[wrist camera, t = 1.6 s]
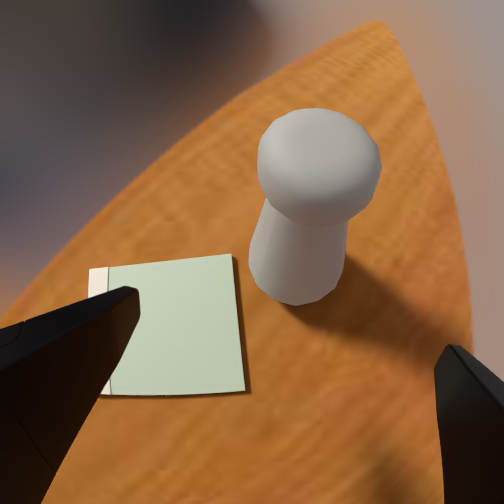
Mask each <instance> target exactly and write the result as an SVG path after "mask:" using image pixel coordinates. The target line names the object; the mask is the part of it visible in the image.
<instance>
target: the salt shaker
mask: <svg viewBox="0 0 504 504" xmlns="http://www.w3.org/2000/svg"><path fill="white" fill-rule="evenodd" d="M381 168H382V166H381V160H380V155H379V150H378V146H377V144H376V143H375V142H374V140H373V139H372V138H371V137H370V135H369V134H368V133H367V132H366V130H365V129H364V128H363V127H362V126H361V125H359V124H358V123H356V122H355V121H353V120H351V119H350V118H348V117H347V116H345V115H343V114H342V113H339V112H335V111H331V110H326V109H322V108H312V109H300V110H294V111H292V112H290V113H288V114H286V115H284V116H282V117H280V118H278V119H276V120H275V121H273V122H272V124H271V125H270V126H269V128H268V129H267V130H266V132H265V133H264V134H263V136H262V137H261V140H260V144H259V148H258V167H257V173H258V181H259V184H260V186H261V187H262V189H263V191H264V193H265V195H266V200H265V202H264V205H263V208H262V211H261V214H260V217H259V220H258V223H257V226H256V229H255V232H254V235H253V237H252V240H251V243H250V250H249V268H250V270H251V273H252V275H253V277H254V279H255V282H256V284H257V286H258V287H259V288H260V289H261V290H262V291H264V292H265V293H266V294H267V295H268V296H270V297H271V298H272V299H273V300H275V301H278V302H282V303H286V304H290V305H293V306H298V305H303V304H307V303H312V302H316V301H319V300H320V299H321V298H323V297H324V296H325V295H327V294H328V293H329V292H331V291H332V290H333V289H335V288H336V285H337V283H338V281H339V278H340V276H341V274H342V271H343V268H344V259H345V249H346V238H347V226H348V220H349V219H351V218H352V217H354V216H355V215H356V214H358V213H359V212H360V211H362V210H363V209H365V208H366V206H367V205H368V204H369V202H370V201H371V200H372V197H373V194H374V192H375V189H376V186H377V183H378V181H379V177H380V173H381Z"/></svg>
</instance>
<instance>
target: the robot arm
mask: <svg viewBox="0 0 504 504" xmlns="http://www.w3.org/2000/svg"><path fill="white" fill-rule="evenodd" d="M140 315H141V310H140V297H139V291H138V289H137V288H134V287H130V286H122V287H119V288H116V289H113V290H110V291H107V292H104V293H102V294H99V295H96V296H93V297H90V298H87V299H84V300H82V301H79V302H76V303H73V304H70V305H67V306H65V307H62V308H59V309H56V310H53V311H50V312H48V313H45V314H42V315H39V316H36V317H34V318H31V319H28V320H25V322H24V321H22V322H19V323H17V324H14V325H11V326H8V327H5V328H2V329H0V504H41V502H42V500H43V498H44V496H45V494H46V492H47V491H48V489H49V487H50V485H51V483H52V481H53V479H54V477H55V475H56V472H57V471H58V469H59V467H60V465H61V463H62V461H63V460H64V458H65V456H66V454H67V452H68V450H69V448H70V447H71V445H72V443H73V441H74V439H75V438H76V436H77V434H78V432H79V430H80V429H81V427H82V425H83V423H84V421H85V420H86V418H87V416H88V414H89V413H90V411H91V409H92V407H93V406H94V404H95V402H96V401H97V399H98V397H99V395H100V394H101V392H102V390H103V389H104V387H105V385H106V384H107V382H108V380H109V379H110V377H111V375H112V374H113V372H114V370H115V369H116V367H117V365H118V363H119V362H120V360H121V358H122V356H123V354H124V352H125V349H126V347H127V345H128V343H129V341H130V339H131V336H132V334H133V332H134V330H135V328H136V326H137V324H138V322H139V319H140ZM434 379H435V393H436V411H437V422H438V429H439V437H440V446H441V456H442V468H443V482H444V504H504V382H503V381H502V380H501V379H500V378H498V377H497V376H496V375H495V374H494V373H493V372H491V371H490V370H489V369H488V368H487V367H486V366H484V365H483V364H482V363H481V362H480V361H478V360H477V359H476V358H475V357H474V356H472V355H471V354H470V353H469V352H468V351H466V350H465V349H464V348H463V347H461V346H460V345H453V344H449V345H447V346H446V347H445V349H444V351H443V352H442V354H441V356H440V358H439V360H438V361H437V363H436V365H435V368H434Z"/></svg>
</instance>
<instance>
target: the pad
mask: <svg viewBox="0 0 504 504" xmlns="http://www.w3.org/2000/svg"><path fill="white" fill-rule="evenodd" d="M122 286H130V287H134V288H137V289H138V291H139V297H140V310H141V315H140V319H139V322H138V324H137V326H136V328H135V330H134V332H133V334H132V336H131V339H130V341H129V343H128V345H127V347H126V349H125V352H124V354H123V356H122V358H121V360H120V362H119V363H118V365H117V367H116V369H115V370H114V372H113V374H112V375H111V377H110V379H109V380H108V382H107V384H106V385H105V387H104V389H103V390H102V392H101V394H114V395H182V394H205V393H221V392H234V391H245V382H244V373H243V364H242V355H241V345H240V335H239V326H238V316H237V305H236V295H235V285H234V274H233V263H232V255H231V254H224V255H216V256H207V257H198V258H189V259H180V260H171V261H163V262H154V263H145V264H136V265H127V266H118V267H110V268H108V267H105V268H96V269H90V270H89V290H88V298H90V297H93V296H96V295H99V294H102V293H104V292H107V291H110V290H113V289H116V288H119V287H122Z"/></svg>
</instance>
